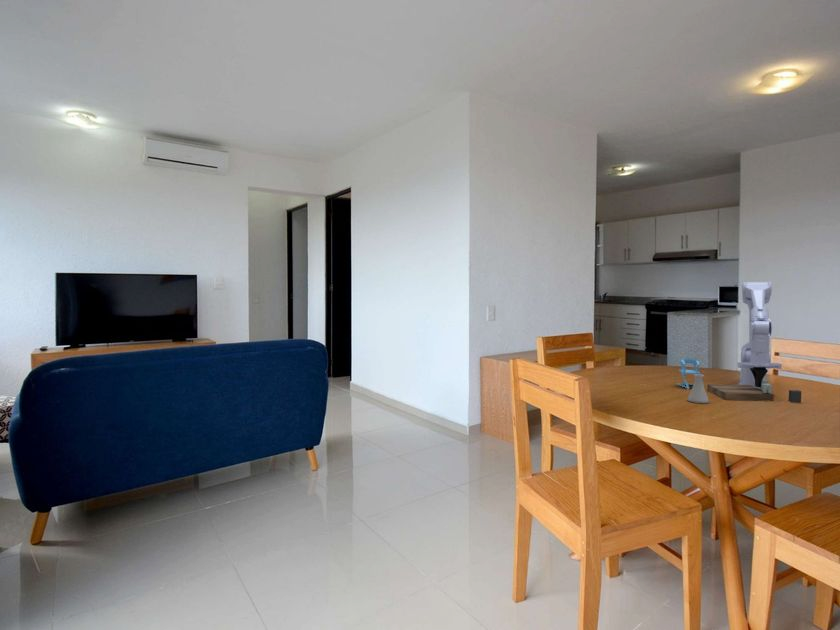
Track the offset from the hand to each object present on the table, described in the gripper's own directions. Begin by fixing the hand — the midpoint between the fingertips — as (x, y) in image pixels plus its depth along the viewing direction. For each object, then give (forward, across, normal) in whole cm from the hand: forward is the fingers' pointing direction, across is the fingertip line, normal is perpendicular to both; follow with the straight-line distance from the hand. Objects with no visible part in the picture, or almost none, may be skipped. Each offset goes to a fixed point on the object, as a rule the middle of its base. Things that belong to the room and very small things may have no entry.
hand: (758, 386), depth 185 cm
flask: (+4, -26, -12) cm, 29 cm away
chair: (+4, -20, +12) cm, 24 cm away
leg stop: (+3, +8, -9) cm, 12 cm away
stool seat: (+3, -7, 0) cm, 8 cm away
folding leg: (+1, +1, -3) cm, 3 cm away
